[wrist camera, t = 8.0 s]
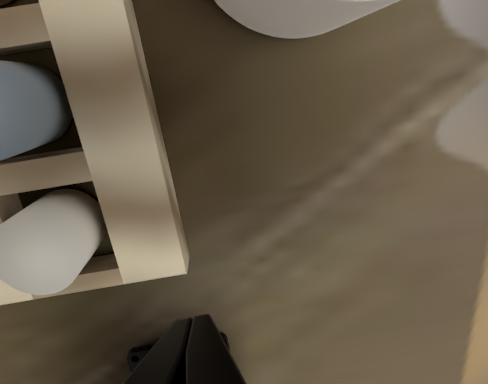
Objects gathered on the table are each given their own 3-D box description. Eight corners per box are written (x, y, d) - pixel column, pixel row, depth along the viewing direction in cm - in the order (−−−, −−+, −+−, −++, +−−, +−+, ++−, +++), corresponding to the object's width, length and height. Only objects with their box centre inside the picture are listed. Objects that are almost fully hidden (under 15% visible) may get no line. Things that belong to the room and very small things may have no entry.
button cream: (115, 248, 20) (91, 287, 17) (46, 259, 20) (6, 301, 17) (96, 183, 19) (65, 209, 15) (22, 195, 19) (-27, 224, 15)
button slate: (82, 137, 18) (46, 153, 15) (6, 150, 18) (-51, 168, 15) (58, 56, 17) (11, 49, 13) (-24, 69, 17) (-94, 66, 13)
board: (189, 256, 21) (186, 273, 19) (-8, 289, 21) (-31, 310, 19) (96, -156, 15) (78, -189, 13) (-184, -113, 15) (-243, -141, 13)
